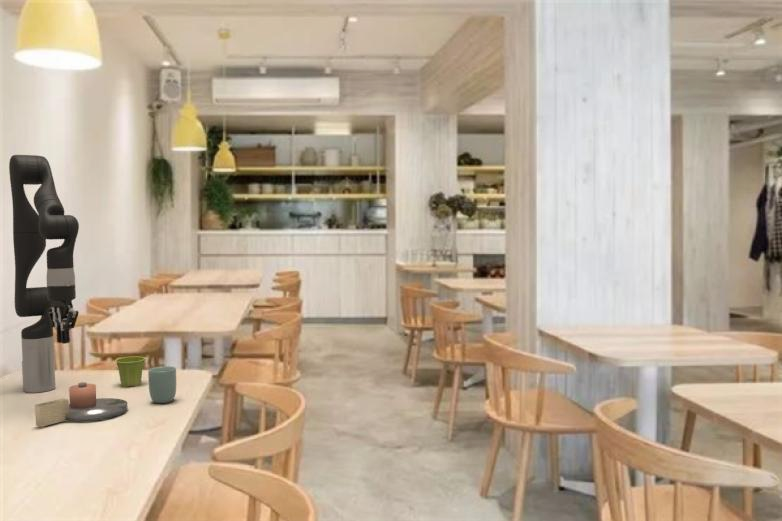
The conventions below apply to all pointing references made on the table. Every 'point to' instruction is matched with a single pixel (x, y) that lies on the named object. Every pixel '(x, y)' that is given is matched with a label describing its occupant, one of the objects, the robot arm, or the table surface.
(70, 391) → the cap
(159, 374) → the cup
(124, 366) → the plant pot
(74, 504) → the table surface
